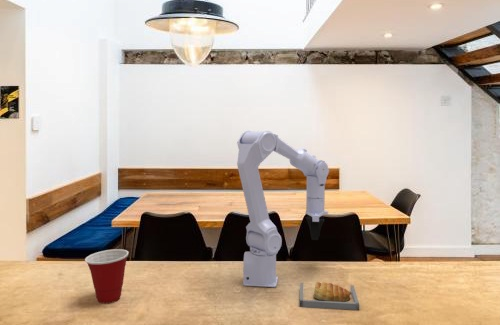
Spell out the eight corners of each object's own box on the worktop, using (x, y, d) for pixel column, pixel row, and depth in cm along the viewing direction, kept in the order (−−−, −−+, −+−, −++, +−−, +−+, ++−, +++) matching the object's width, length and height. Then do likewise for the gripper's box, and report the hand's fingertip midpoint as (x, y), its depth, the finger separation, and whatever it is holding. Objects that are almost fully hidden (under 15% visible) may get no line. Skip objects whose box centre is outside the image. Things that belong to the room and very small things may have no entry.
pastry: (350, 295, 112) (350, 281, 112) (349, 305, 106) (349, 290, 106) (315, 291, 115) (315, 278, 114) (312, 301, 108) (312, 287, 108)
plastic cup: (85, 294, 112) (84, 251, 111) (126, 289, 116) (126, 246, 115) (86, 310, 102) (85, 262, 101) (132, 303, 106) (131, 257, 105)
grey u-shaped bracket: (299, 306, 104) (299, 300, 104) (300, 287, 117) (300, 282, 117) (359, 310, 102) (359, 304, 102) (353, 290, 115) (353, 285, 115)
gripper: (329, 201, 125) (328, 245, 126) (327, 194, 139) (326, 234, 140) (305, 200, 126) (305, 245, 127) (305, 193, 140) (305, 233, 141)
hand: (314, 239), depth 133 cm, fingers closed
